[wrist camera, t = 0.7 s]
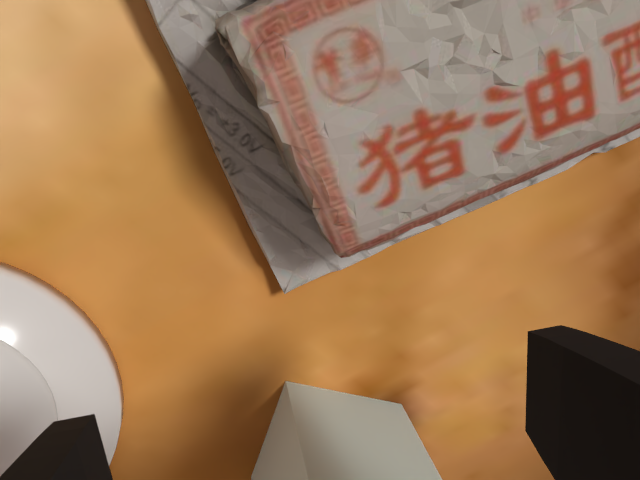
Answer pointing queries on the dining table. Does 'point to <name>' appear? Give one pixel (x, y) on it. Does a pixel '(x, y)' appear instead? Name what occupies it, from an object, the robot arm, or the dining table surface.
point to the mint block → (340, 439)
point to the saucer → (51, 366)
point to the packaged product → (397, 109)
